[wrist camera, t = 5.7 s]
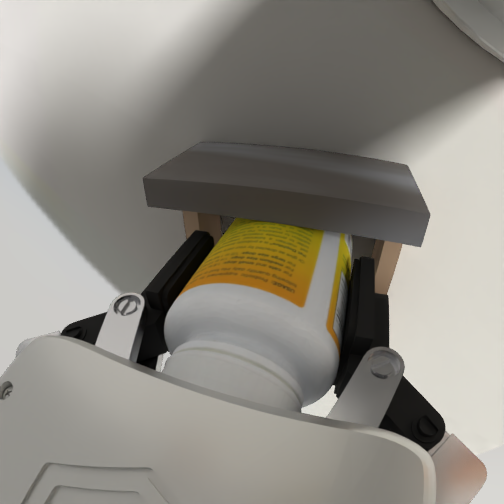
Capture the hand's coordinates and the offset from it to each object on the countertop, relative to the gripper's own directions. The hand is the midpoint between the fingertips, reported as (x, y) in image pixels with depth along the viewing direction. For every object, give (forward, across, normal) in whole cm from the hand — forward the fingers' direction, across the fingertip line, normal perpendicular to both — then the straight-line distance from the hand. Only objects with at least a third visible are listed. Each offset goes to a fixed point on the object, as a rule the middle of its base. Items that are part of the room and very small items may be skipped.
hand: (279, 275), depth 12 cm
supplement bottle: (+4, 0, 0) cm, 4 cm away
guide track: (+4, 0, +3) cm, 5 cm away
